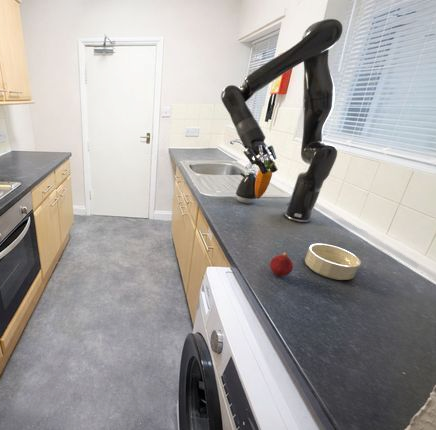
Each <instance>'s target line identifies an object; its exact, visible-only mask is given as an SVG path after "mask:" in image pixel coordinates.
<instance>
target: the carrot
mask: <svg viewBox="0 0 436 430" xmlns="http://www.w3.org/2000/svg"><path fill="white" fill-rule="evenodd" d="M263 161H264V163H265V165H266V167H267V169H268V172H267V173H265V174H262V173H261V171H260V169H258V170H257V173H256V176H257V177H256V181H255V195H256V199H257V200H259V199H261V197H263V196H264V194H265V193H266V191H267V189H268V187H269V186H270V183H271V181H272V180H271V179H272V177H273V173H272V172H271V171H270V168H271V167H272V166H273V165H274V164H275V165H276V162H275V161H274V162H273V163H272V164H270V165H269V166H268V161H266V160H263Z"/></svg>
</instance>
